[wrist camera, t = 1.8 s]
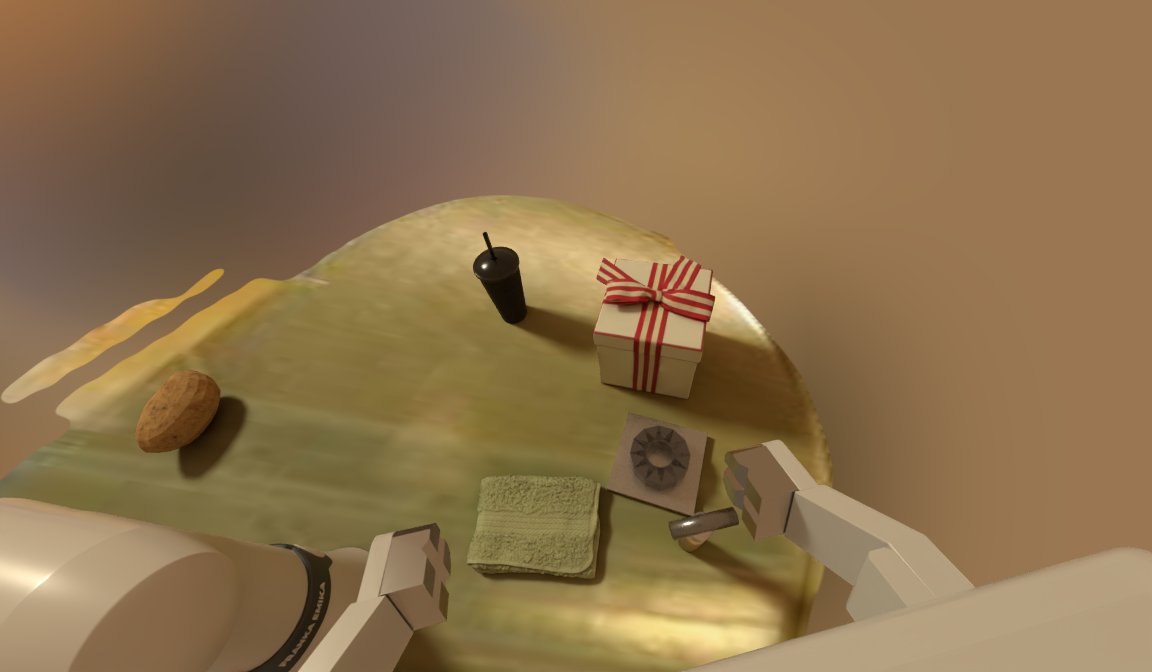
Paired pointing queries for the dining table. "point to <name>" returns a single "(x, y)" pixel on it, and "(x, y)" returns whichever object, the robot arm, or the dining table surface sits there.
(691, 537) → the chuck key
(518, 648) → the dining table surface
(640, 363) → the gift box
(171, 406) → the potato
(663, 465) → the chuck socket
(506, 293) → the drinking cup
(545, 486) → the washcloth
